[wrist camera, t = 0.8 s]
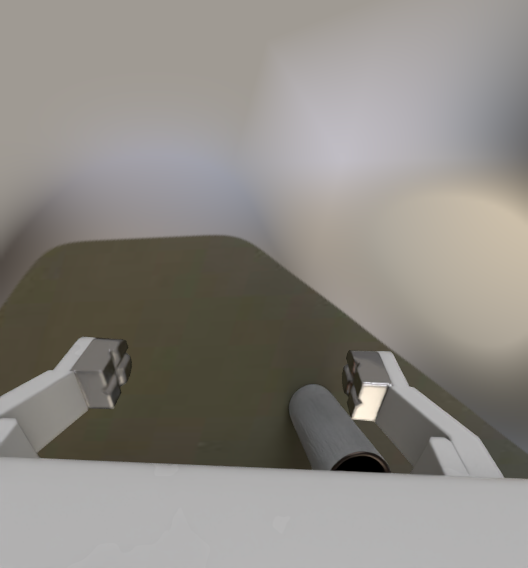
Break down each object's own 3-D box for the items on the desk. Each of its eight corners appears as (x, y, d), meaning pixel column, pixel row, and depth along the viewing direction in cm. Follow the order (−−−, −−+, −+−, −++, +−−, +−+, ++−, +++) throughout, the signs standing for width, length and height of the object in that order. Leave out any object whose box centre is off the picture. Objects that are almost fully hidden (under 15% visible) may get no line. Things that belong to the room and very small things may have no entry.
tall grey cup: (307, 374, 29) (354, 438, 19) (342, 400, 29) (406, 475, 19) (278, 412, 29) (310, 497, 18) (314, 437, 29) (363, 532, 19)
